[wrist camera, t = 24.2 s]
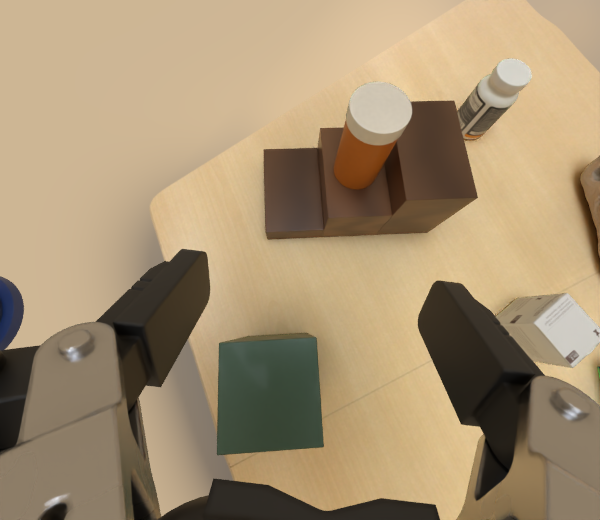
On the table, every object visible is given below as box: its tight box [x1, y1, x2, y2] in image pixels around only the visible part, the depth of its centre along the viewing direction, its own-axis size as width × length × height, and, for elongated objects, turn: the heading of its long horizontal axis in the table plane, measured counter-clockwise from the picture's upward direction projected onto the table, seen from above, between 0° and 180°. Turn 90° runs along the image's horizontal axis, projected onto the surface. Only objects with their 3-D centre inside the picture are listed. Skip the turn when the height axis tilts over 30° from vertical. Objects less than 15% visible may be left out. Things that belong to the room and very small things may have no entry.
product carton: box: [495, 293, 600, 368], centre depth 33 cm, size 6×6×7 cm
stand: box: [217, 333, 324, 455], centre depth 27 cm, size 8×8×14 cm
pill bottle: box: [457, 59, 532, 140], centre depth 39 cm, size 6×6×10 cm
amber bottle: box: [334, 82, 412, 190], centre depth 29 cm, size 6×6×10 cm
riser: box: [264, 101, 478, 239], centre depth 35 cm, size 24×13×11 cm, turn 93°
